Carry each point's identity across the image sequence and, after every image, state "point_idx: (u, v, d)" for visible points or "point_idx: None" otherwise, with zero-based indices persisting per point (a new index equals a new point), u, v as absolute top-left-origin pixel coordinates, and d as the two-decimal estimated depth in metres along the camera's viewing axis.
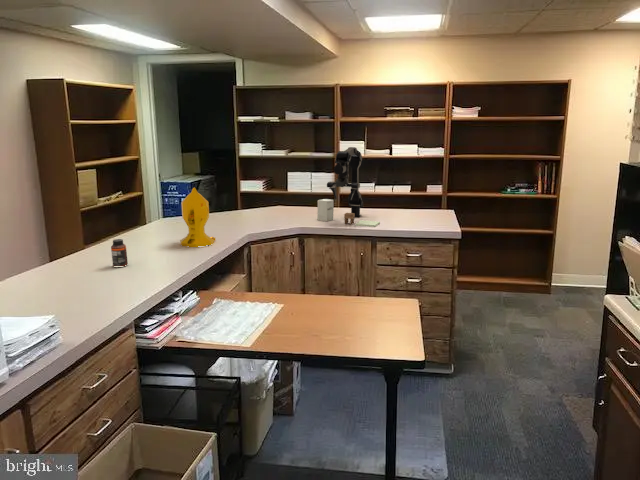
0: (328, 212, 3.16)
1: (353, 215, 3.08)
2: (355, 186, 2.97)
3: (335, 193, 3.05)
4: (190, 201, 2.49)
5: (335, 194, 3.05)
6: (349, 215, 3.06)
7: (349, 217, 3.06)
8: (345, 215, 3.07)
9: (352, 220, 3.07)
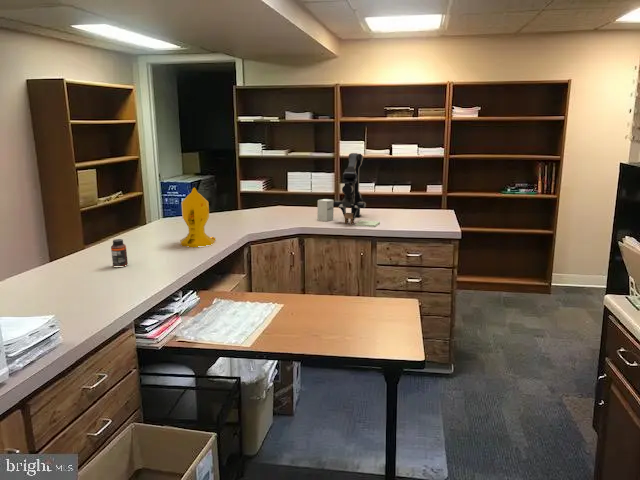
0: (328, 212, 3.16)
1: None
2: (361, 206, 3.02)
3: (344, 212, 3.09)
4: (190, 201, 2.49)
5: (344, 213, 3.09)
6: (349, 215, 3.06)
7: (349, 217, 3.06)
8: (345, 215, 3.07)
9: (352, 220, 3.07)
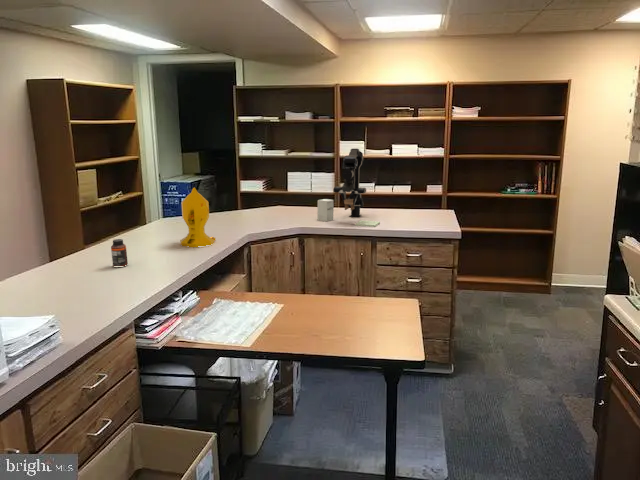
0: (328, 212, 3.16)
1: None
2: (361, 191, 3.00)
3: (345, 198, 3.07)
4: (190, 201, 2.49)
5: None
6: (349, 201, 3.04)
7: (349, 203, 3.04)
8: (345, 201, 3.05)
9: (352, 206, 3.05)
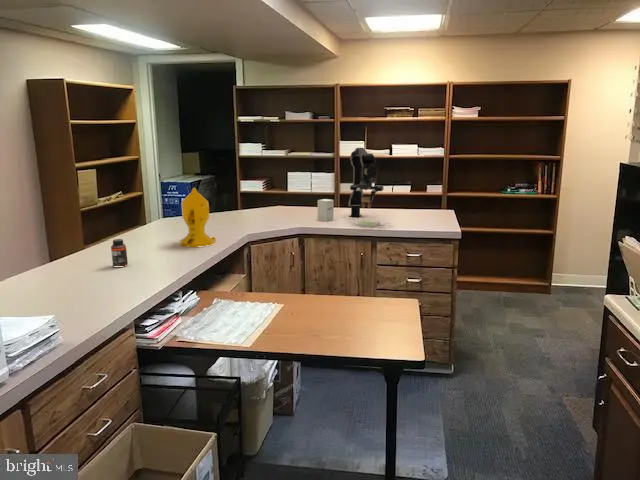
0: (328, 212, 3.16)
1: None
2: (379, 189, 2.97)
3: (361, 196, 3.04)
4: (190, 201, 2.49)
5: (361, 197, 3.04)
6: (366, 199, 3.01)
7: (366, 201, 3.02)
8: (362, 199, 3.02)
9: (369, 204, 3.02)
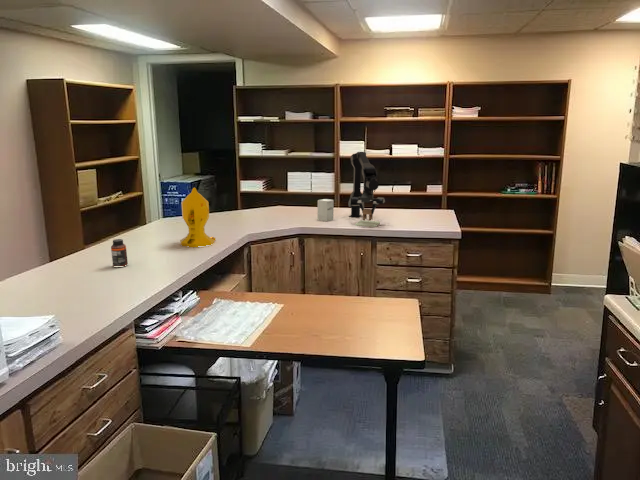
0: (328, 212, 3.16)
1: None
2: (380, 201, 2.99)
3: (363, 208, 3.06)
4: (190, 201, 2.49)
5: (363, 209, 3.06)
6: (368, 211, 3.03)
7: (368, 213, 3.03)
8: (364, 211, 3.04)
9: (371, 216, 3.04)
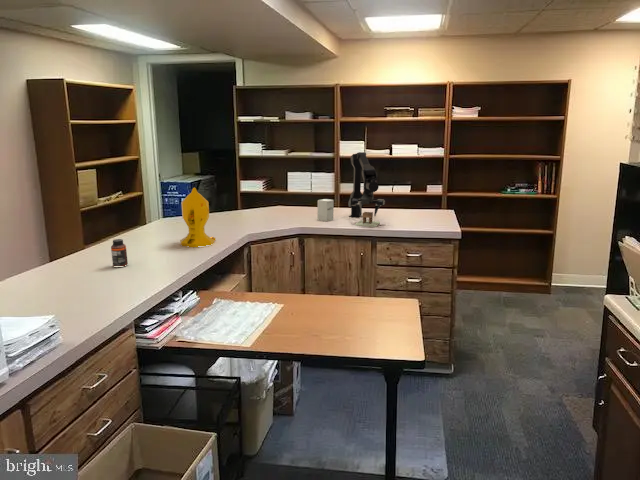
0: (328, 212, 3.16)
1: (371, 214, 3.05)
2: (380, 203, 2.99)
3: (360, 209, 3.06)
4: (190, 201, 2.49)
5: (360, 210, 3.06)
6: (367, 214, 3.03)
7: (367, 216, 3.04)
8: (363, 214, 3.04)
9: (370, 219, 3.04)
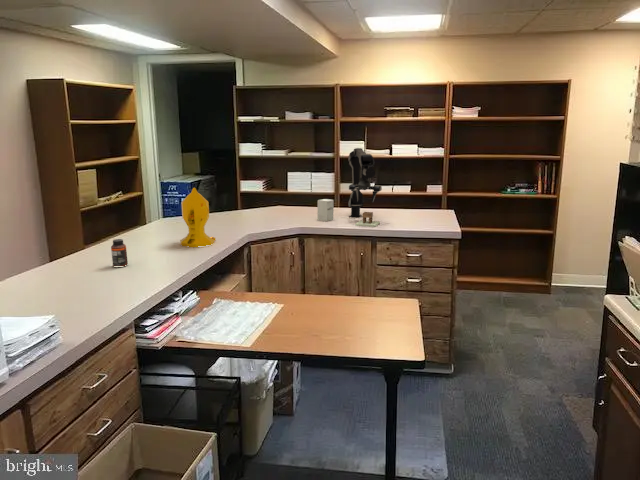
0: (328, 212, 3.16)
1: (371, 214, 3.05)
2: (377, 189, 3.02)
3: (357, 195, 3.10)
4: (190, 201, 2.49)
5: (357, 196, 3.10)
6: (367, 214, 3.03)
7: (367, 216, 3.04)
8: (363, 214, 3.04)
9: (370, 219, 3.04)
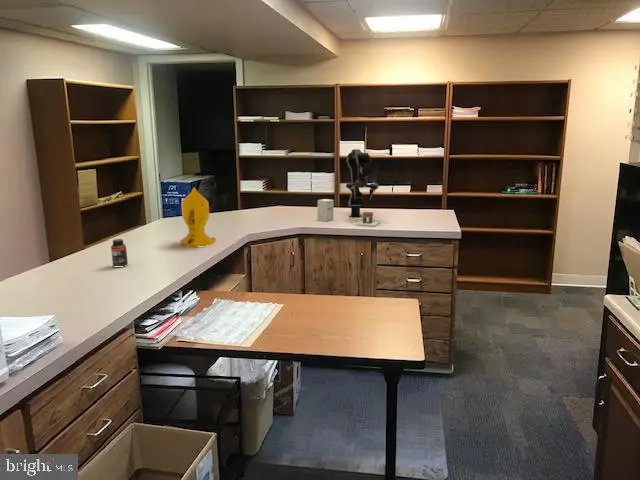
0: (328, 212, 3.16)
1: (371, 214, 3.05)
2: (374, 187, 3.07)
3: (354, 193, 3.15)
4: (190, 201, 2.49)
5: (354, 194, 3.15)
6: (367, 214, 3.03)
7: (367, 216, 3.04)
8: (363, 214, 3.04)
9: (370, 219, 3.04)
